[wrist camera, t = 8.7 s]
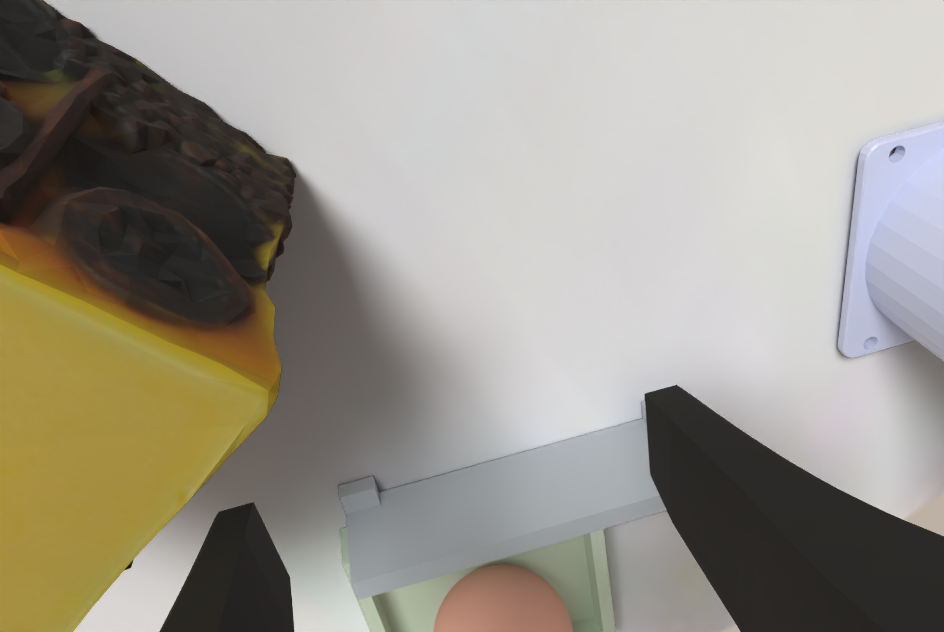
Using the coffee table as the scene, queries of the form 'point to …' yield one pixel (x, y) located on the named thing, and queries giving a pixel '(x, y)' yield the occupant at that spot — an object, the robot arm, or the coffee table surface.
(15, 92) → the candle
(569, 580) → the tray
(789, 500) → the robot arm
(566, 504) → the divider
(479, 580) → the ball
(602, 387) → the coffee table surface
